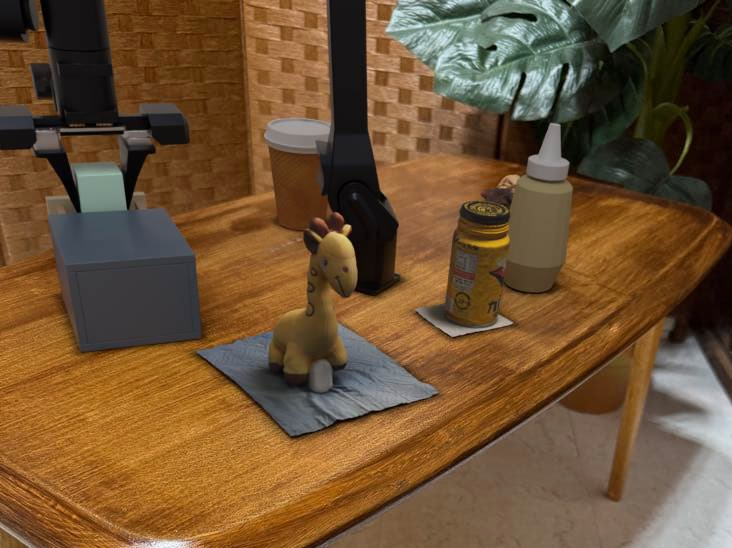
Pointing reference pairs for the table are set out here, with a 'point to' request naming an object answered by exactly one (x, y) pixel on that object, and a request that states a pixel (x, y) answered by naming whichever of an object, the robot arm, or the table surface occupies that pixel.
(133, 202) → the drawer
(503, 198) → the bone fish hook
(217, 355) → the stuffed giraffe
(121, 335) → the cabinet
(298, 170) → the disposable coffee cup
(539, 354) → the table surface
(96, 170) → the block
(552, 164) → the squeeze bottle
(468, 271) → the condiment
